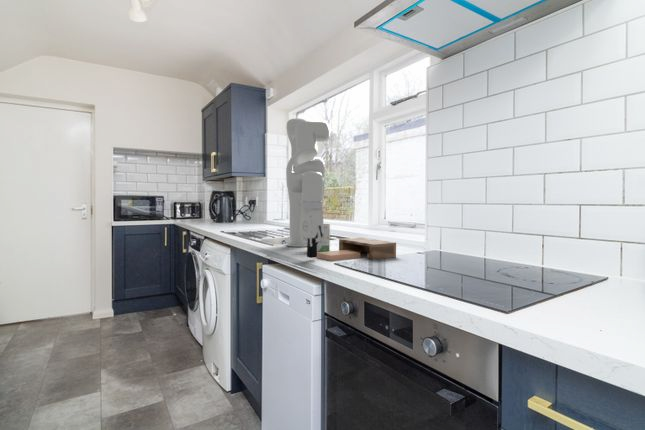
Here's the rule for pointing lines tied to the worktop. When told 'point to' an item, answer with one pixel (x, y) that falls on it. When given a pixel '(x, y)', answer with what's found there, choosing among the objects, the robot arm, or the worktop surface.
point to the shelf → (369, 247)
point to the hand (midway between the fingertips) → (311, 257)
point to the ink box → (325, 240)
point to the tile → (338, 255)
